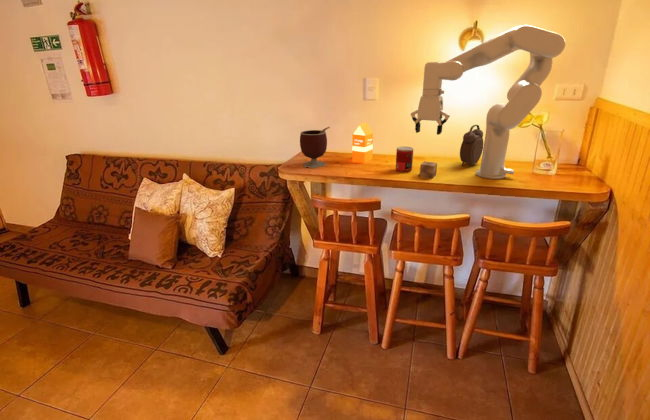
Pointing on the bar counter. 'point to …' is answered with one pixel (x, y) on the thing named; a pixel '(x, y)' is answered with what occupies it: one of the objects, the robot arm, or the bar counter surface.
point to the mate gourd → (313, 146)
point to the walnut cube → (428, 169)
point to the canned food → (404, 159)
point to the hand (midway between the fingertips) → (428, 133)
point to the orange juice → (362, 144)
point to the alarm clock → (472, 146)
